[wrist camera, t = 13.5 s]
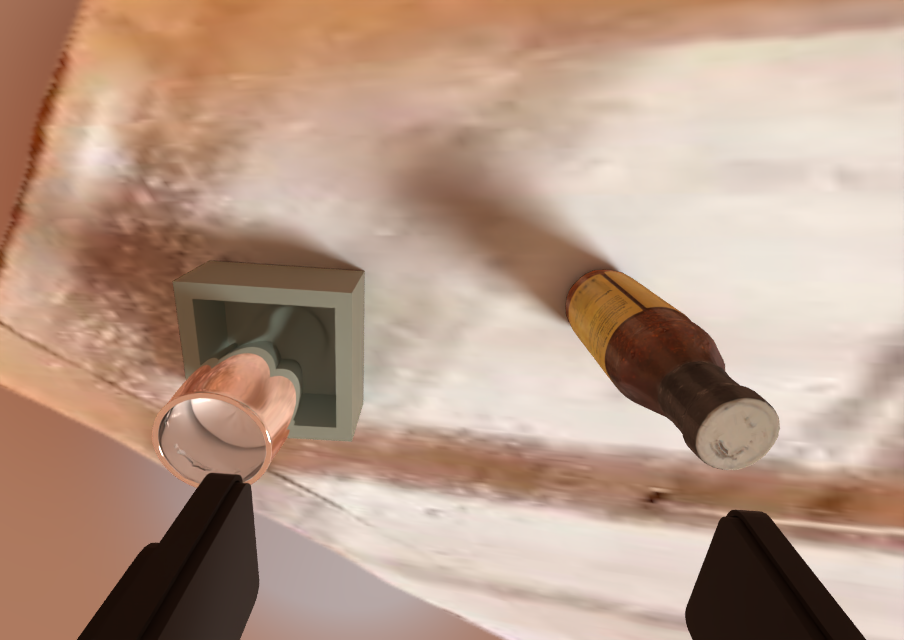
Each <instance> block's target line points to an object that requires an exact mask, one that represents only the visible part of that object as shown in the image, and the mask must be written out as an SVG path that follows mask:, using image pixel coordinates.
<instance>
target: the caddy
mask: <svg viewBox="0 0 904 640" xmlns="http://www.w3.org/2000/svg"><path fill="white" fill-rule="evenodd" d="M364 278H365V271H356V270H342V269H327V268H312V267H297V266H283V265H268V264H253V263H238V262H224V261H208V262H206V263H204V264H203V265H201V266H199V267H197V268H196V269H194V270H192V271H190V272H188V273H187V274H185V275H183V276H181V277H179V278H178V279H176V280H174V281H173V288H174V296H175V303H176V310H177V318H178V325H179V333H180V340H181V347H182V355H183V362H184V370H185V377H186V380H187V379H188V378H189V377H190V376H191V374H192V373H193V372H194V371H195V370H196V369H197V368H199V367H200V366H201V365H202V364H203V363H204V362H205V361H207V360H208V359H209V358H210V357H212V356H213V355H215V354H216V353H218V352H219V351H221V350H222V349H224V348H225V347H227V346H229V345H231V344H233V343H235V342H236V341H238V340H240V339H242V338H244V337H246V336H248V335H249V334H250V333H251V331H252V328H253V326H254V324H255V322H256V320H257V319H258V318H259V316H260V315H261V314H262V313H263V312H265V311H266V310H268V309H270V308H272V307H275V306H278V305H294V306H298V307H301V308H304V309H306V310H307V311H309V312H311V313H312V314H313V315H314V316H315V317H316V318H317V319H318V320H319V321H320V322H321V324H322V326H323V328H324V330H325V333H326V338H327V345H326V351H325V353H324V355H323V357H322V359H321V360H320V361H319V363H318V364H317V365H316V366H315V367H313V368H312V369H311V370H310V371H309V372H308V376H307V381H306V387H305V392H304V397H303V401H302V405H301V408H300V412H299V414H298V417H297V419H296V421H295V423H294V426H293V428H292V430H291V431H290V433H289V435H288V437H287V438H297V439H315V440H333V441H351V442H352V439H353V436H354V433H355V429H356V426H357V423H358V419H359V416H360V413H361V409H362V406H363V376H364Z"/></svg>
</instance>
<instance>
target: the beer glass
mask: <svg viewBox="0 0 904 640" xmlns="http://www.w3.org/2000/svg"><path fill="white" fill-rule="evenodd" d="M326 345H327V338H326V333H325V330H324V328H323V326H322V324H321V322H320V321H319V320H318V319H317V318H316V317H315V316H314V315H313V314H312V313H311V312H309V311H307V310H306V309H304V308H301V307H298V306H294V305H278V306H275V307H272V308H270V309H268V310H266V311H265V312H263V313H262V314H261V315H260V316H259V318H258V319H257V320H256V322H255V324H254V326H253V328H252V331H251V333H250V334H249V335H248V336H246V337H244V338H242V339H240V340H238V341H236V342H235V343H233V344H231V345H229V346H227V347H225V348H224V349H222V350H221V351H219V352H218V353H216V354H215V355H213V356H212V357H210V358H209V359H208V360H207V361H205V362H204V363H203V364H202V365H201V366H200V367H199V368H197V369H196V370H195V371H194V372H193V373H192V374H191V376H190V377H189V378H188V379H187V380H186V381H185V382H184V383H183V384H182V386H181V387H180V388H179V389H178V390H177V392H176V393H175V394H174V395H173V397H172V398H171V399H170V401H169V402H168V403H167V404H166V405H165V406H164V407H163V408H162V409H161V410H160V412H159V413H158V415H157V416H156V418H155V421H154V424H153V428H152V441H153V446H154V449H155V452H156V454H157V456H158V458H159V459H160V461H161V462H162V464H163V465H164V466H165V467H166V468H167V469H168V470H169V471H170V472H171V473H172V474H173V475H174V476H175V477H177V478H178V479H180V480H181V481H183V482H185V483H187V484H189V485H191V486H193V487H196V488H197V487H198V486H199V485H200V483H201V482H202V480H203V479H204V477H205V476H206V475H207V474H209V473H223V474H237V475H241V477H242V480H243V483H249V484H250V485H251V484H253V483H254V482H256V481H257V480H258V479H259V478H260V477H261V476H262V475H263V474H264V473H265V472H266V470H267V468H268V466H269V464H270V463H271V461H272V460H273V458H274V457H275V455H276V454H277V453H278V451H279V450H280V448H281V447H282V445H283V443H284V442H285V440H286V438H287V437H288V435H289V433H290V431H291V430H292V428H293V426H294V423H295V421H296V419H297V417H298V414H299V412H300V408H301V405H302V401H303V397H304V392H305V387H306V381H307V376H308V372H309V371H310V370H311V369H312V368H313V367H315V366H316V365H317V364H318V363H319V361H320V360H321V359H322V357H323V355H324V353H325V351H326Z"/></svg>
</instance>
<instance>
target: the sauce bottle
mask: <svg viewBox="0 0 904 640" xmlns="http://www.w3.org/2000/svg"><path fill="white" fill-rule="evenodd" d="M566 316H567V318H568V321H569V322H570V325H571V327H572V329H573V331H574V332H575V333H576V335H577V336H578V338H579V339H580V340H581V342H582V343H583V344H584V345H585V347H586V348H587V349H588V351H589V352H590V353H591V355H592V356H593V357H594V359H595V360H596V361H597V363H598V364H599V365H600V367H601V368H602V369H603V371H604V372H605V373H606V375H607V376H608V377H609V378H610V380H611V381H612V382H613V384H614V385H615V386H616V387H617V388H618V390H619V391H620V392H621V393H622V394H623V395H625V396H626V397H627V398H628V399H630V400H631V401H633V402H635V403H637V404H639V405H641V406H643V407H645V408H648V409H650V410H652V411H654V412H656V413H658V414H661V415H663V416H665V417H667V418H668V419H669V420H671V421H672V422H673V423H674V424H675V426H676V427H677V428H678V429H679V430H680V431H681V433H682V434H683V438H684V440H685V443H686V444H687V446H688V447H689V448H690V449H691V450H692V451H693V452H694V453H695V454H696V455H697V456H698V457H699V458H700V459H701V460H702V461H703V462H704V463H706V464H708V465H710V466H712V467H714V468H718V469H722V470H738V469H742V468H745V467H748V466H750V465H752V464H754V463H755V462H757V461H758V460H759V459H761V458H762V457H763V456H765V455H766V453H767V452H768V451H769V450H770V449H771V447H772V446H773V445H774V443H775V441H776V439H777V438H778V433H779V429H780V426H779V418H778V415H777V413H776V411H775V410H774V408H773V407H772V406H771V405H770V404H769V403H768V402H767V401H765V400H764V399H763V398H762V397H761V396H760V395H758V394H757V393H756V392H755V391H753V390H751V389H749V388H747V387H744V386H740V385H739V384H738V383H736V382H735V381H734V380H733V379H731V378H730V377H729V376H728V374H727V373H726V372H725V364H724V361H723V359H722V357H721V355H720V353H719V351H718V348H717V346H716V344H715V342H714V340H713V339H712V338H711V337H710V336H709V334H708V333H706V332H705V331H704V330H703V329H701V328H700V327H699V326H698V325H696V324H695V323H693V322H691V320H690V319H689V318H688V317H687V316H686V315H684V314H683V313H681V312H680V311H679V310H677V309H676V308H674V307H673V306H671V305H670V304H668V303H667V302H665V301H664V300H663V299H661V298H660V297H658V296H657V295H655V294H654V293H653V292H651V291H650V290H648V289H647V288H646V287H644V286H643V285H641V284H640V283H638V282H637V281H635V280H634V279H633V278H631V277H629V276H627V275H625V274H624V273H622V272H617V271H613V270H594V271H592V272H589V273H587V274H585V275H584V276H582V277H581V278H580V279H579V280H578V281H577V282H576V283H575V284H574V285H573V286H572V287H571V289H570V291H569V293H568V296H567V301H566Z"/></svg>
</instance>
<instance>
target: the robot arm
mask: <svg viewBox="0 0 904 640" xmlns="http://www.w3.org/2000/svg"><path fill="white" fill-rule="evenodd" d="M258 573H259V572H258V561H257V549H256V538H255V526H254V515H253V503H252V491H251V485H250V484H249V483H243V480H242V477H241V475H237V474H223V473H209V474H207V475H206V476H205V477H204V479H203V480H202V482H201V483H200V485H199V486H198V487H197V489H196V490H195V492H194V493H193V495H192V496H191V498H190V499H189V501H188V502H187V503H186V505H185V506H184V508H183V509H182V511H181V512H180V514H179V515H178V517H177V518H176V519H175V521H174V522H173V524H172V525H171V527H170V528H169V530H168V531H167V532H166V534H165V535H164V537H163V538H162V540H161V541H160V543H150V544H149V545H147V546H146V547H144V549H143V550H142V551H141V552H140V553H139V554H138V555H137V557H136V558H135V559H134V561H133V562H132V564H131V565H130V566H129V568H128V569H127V571H126V572H125V573H124V575H123V576H122V578H121V579H120V580H119V582H118V583H117V585H116V586H115V587H114V589H113V590H112V591H111V593H110V594H109V596H108V597H107V599H106V600H105V601H104V603H103V604H102V605H101V607H100V608H99V610H98V611H97V612H96V614H95V615H94V617H93V618H92V619H91V621H90V622H89V623H88V625H87V626H86V628H85V629H84V631H83V632H82V633H81V635H80V636H79V637H78V639H77V640H240V638H241V636H242V633H243V631H244V628H245V626H246V623H247V621H248V618H249V616H250V614H251V611H252V609H253V606H254V604H255V601H256V598H257V594H258V589H259V574H258ZM685 618H686V624H687V628H688V630H689V633H690V635H691V637H692V639H693V640H866V639H865V638H864V636H863V635H862V634H861V632H860V631H859V630H858V629H857V627H856V626H855V625H854V624H853V622H852V621H851V620H850V618H849V617H848V616H847V615H846V613H845V612H844V611H843V610H842V608H841V607H840V606H839V604H838V603H837V602H836V601H835V599H834V598H833V597H832V596H831V594H830V593H829V592H828V590H827V589H826V588H825V587H824V585H823V584H822V583H821V582H820V580H819V579H818V578H817V576H816V575H815V574H814V573H813V571H812V570H811V569H810V568H809V566H808V565H807V564H806V562H805V561H804V560H803V559H802V557H801V556H800V555H799V554H798V552H797V551H796V550H795V549H794V547H793V546H792V545H791V543H790V542H789V541H788V540H787V538H786V537H785V536H784V535H783V533H782V532H781V531H780V529H779V528H778V527H777V526H776V524H775V523H774V522H773V521H772V519H771V518H770V517H769V516H768V515H767V514H766V513H763V512H759V511H745V510H731V511H730V512H729V513H728V514H727V516H726V517H722V518H721V519H720V521H719V523H718V526H717V528H716V531H715V533H714V536H713V539H712V541H711V544H710V547H709V549H708V552H707V554H706V557H705V560H704V562H703V565H702V568H701V570H700V573H699V575H698V578H697V581H696V583H695V586H694V589H693V591H692V594H691V596H690V599H689V602H688V604H687V607H686V611H685Z"/></svg>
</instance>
